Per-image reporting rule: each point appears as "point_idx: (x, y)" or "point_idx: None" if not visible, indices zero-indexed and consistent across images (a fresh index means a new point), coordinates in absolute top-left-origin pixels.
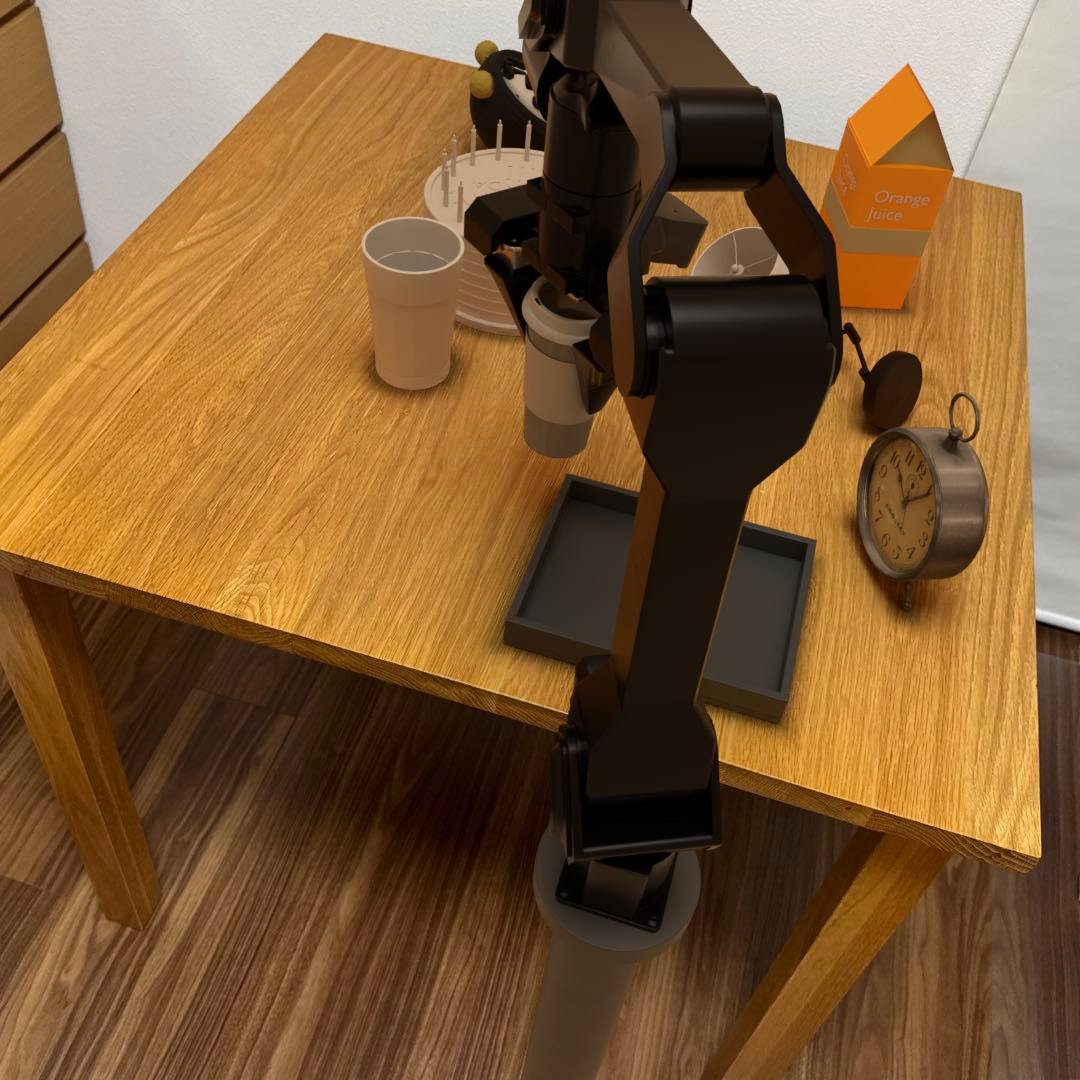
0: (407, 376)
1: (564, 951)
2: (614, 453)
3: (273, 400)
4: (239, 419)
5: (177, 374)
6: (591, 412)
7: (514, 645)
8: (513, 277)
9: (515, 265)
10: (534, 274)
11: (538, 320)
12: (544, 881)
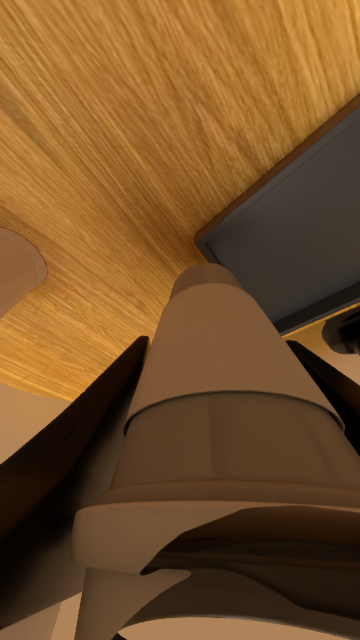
0: (37, 281)
1: None
2: (169, 141)
3: (53, 338)
4: (67, 353)
5: (30, 360)
6: None
7: None
8: (83, 584)
9: (51, 632)
10: (66, 578)
11: (230, 561)
12: (339, 351)
